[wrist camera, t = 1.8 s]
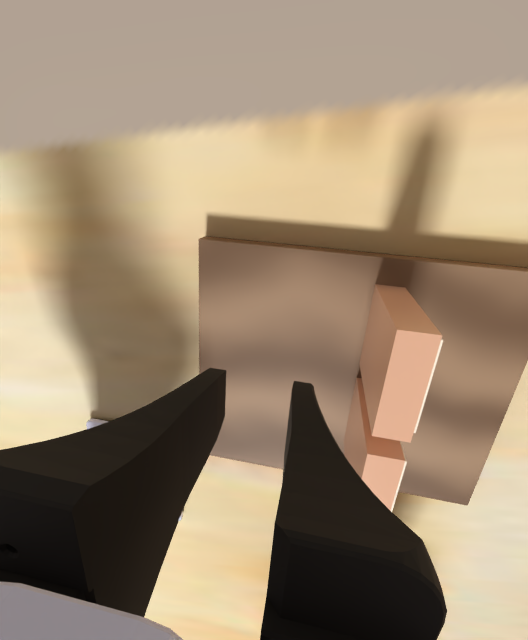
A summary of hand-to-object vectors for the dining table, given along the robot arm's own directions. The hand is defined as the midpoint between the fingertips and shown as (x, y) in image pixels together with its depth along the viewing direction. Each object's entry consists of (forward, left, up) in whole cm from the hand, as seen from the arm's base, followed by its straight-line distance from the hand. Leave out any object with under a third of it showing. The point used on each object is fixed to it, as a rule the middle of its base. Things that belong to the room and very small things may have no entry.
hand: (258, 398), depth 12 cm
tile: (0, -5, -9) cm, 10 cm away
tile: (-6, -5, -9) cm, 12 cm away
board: (-4, -4, -10) cm, 11 cm away
